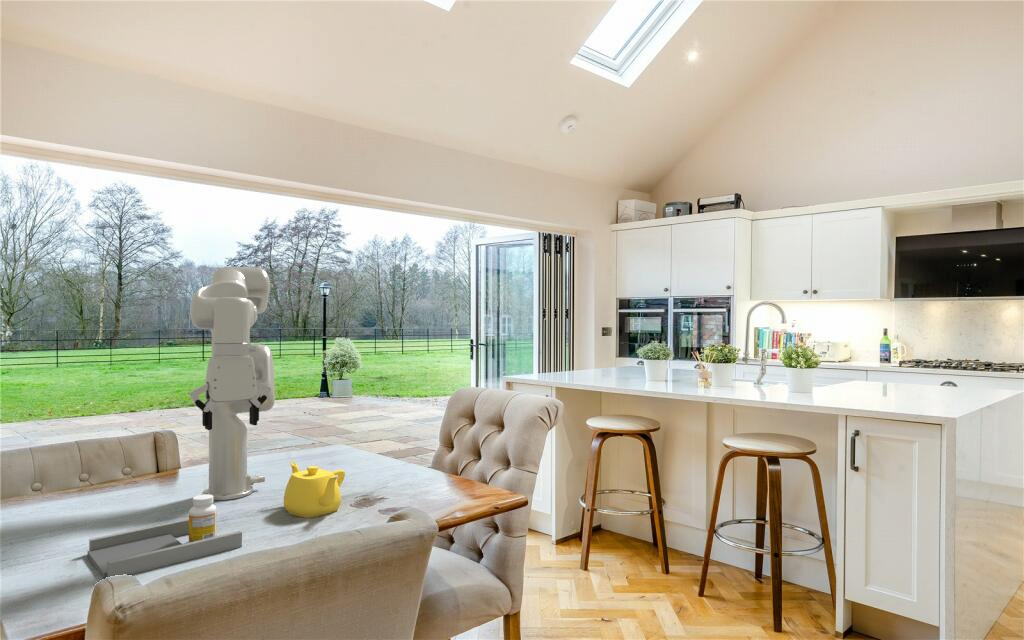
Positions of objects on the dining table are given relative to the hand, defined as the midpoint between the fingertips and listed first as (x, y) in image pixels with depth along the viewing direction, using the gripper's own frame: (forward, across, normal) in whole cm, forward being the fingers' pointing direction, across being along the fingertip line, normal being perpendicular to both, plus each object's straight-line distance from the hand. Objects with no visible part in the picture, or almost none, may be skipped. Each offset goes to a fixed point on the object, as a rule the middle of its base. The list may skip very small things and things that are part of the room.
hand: (231, 426), depth 139 cm
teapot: (+24, -22, -4) cm, 33 cm away
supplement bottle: (+24, +6, +2) cm, 25 cm away
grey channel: (+24, +14, +3) cm, 28 cm away
